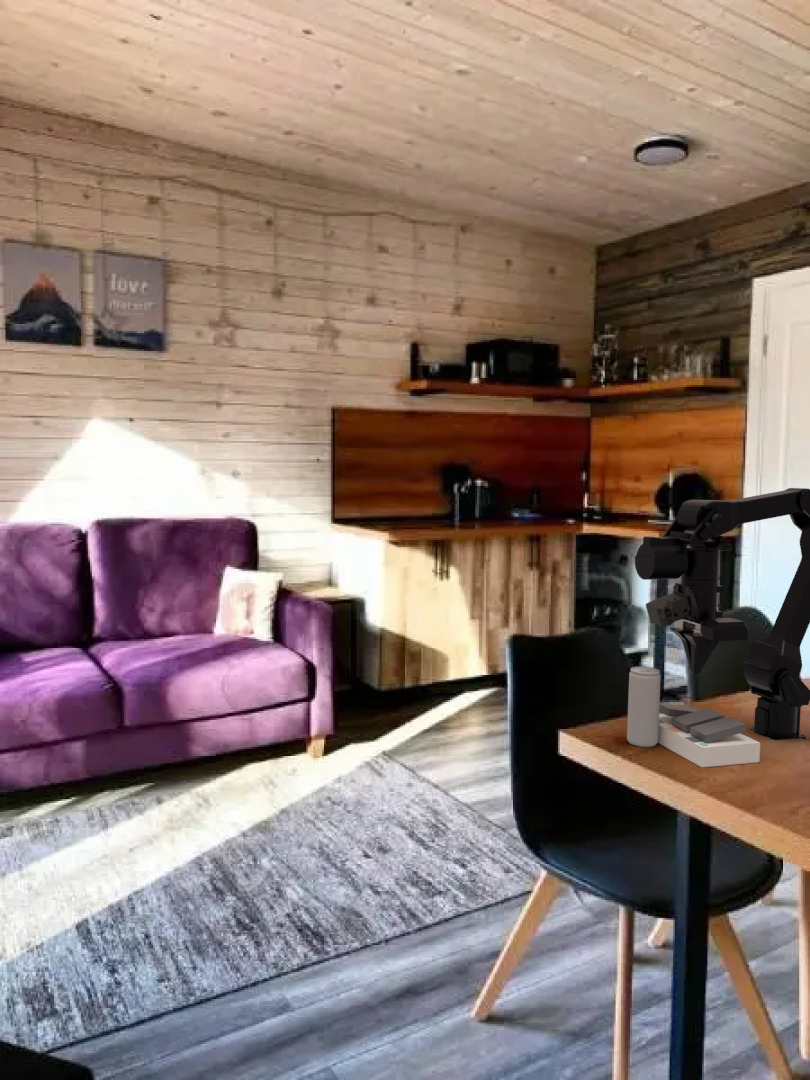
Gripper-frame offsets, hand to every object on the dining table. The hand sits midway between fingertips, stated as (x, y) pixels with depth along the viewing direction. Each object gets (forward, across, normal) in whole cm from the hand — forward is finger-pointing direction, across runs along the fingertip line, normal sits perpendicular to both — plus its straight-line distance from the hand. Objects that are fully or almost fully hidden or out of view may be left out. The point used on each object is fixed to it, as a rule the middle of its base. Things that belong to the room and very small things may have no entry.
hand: (695, 673), depth 139 cm
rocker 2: (+7, +3, -1) cm, 8 cm away
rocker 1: (+7, -2, -2) cm, 7 cm away
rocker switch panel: (+11, +4, -2) cm, 12 cm away
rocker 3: (+7, +8, -1) cm, 11 cm away
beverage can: (+11, 0, -9) cm, 14 cm away
